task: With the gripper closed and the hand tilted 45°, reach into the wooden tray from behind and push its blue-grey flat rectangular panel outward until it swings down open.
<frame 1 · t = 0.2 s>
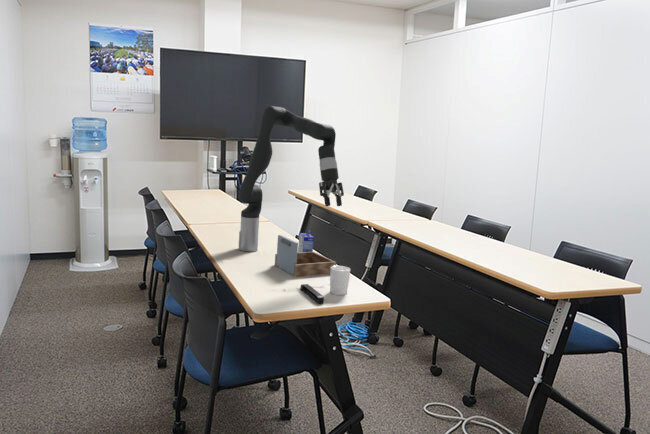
hand: (333, 206, 226), 31 cm above the table, tool tilted 20°, fingers open, 8 cm apart
wooden tray: (304, 272, 234), on the table
blue-grey flat rectangular panel: (285, 254, 227), point 9 cm above the table, hinge at 0.0°
ink cartridge box: (304, 259, 258), on the table
white cup: (338, 293, 207), on the table
portable electronic device stand: (311, 297, 200), on the table
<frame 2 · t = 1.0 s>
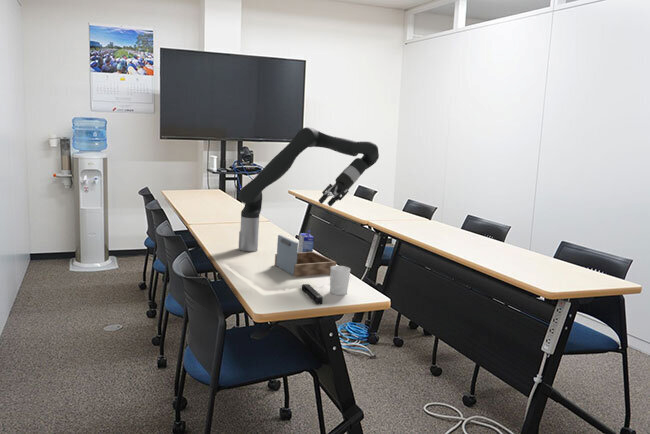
hand: (324, 203, 233), 31 cm above the table, tool tilted 45°, fingers open, 7 cm apart
nothing on the table moved.
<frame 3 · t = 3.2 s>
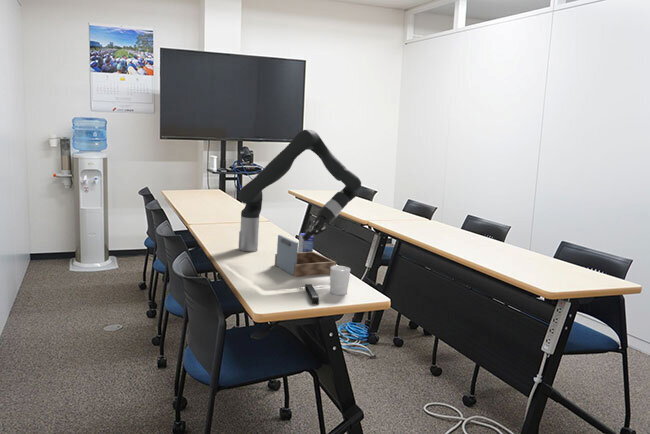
hand: (304, 239, 231), 15 cm above the table, tool tilted 45°, fingers closed
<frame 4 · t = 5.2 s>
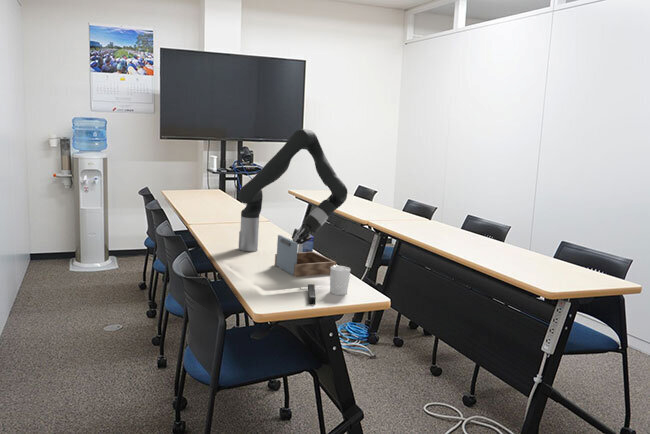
hand: (289, 248, 228), 11 cm above the table, tool tilted 45°, fingers closed
blue-grey flat rectangular panel: (285, 254, 227), point 9 cm above the table, hinge at 0.3°, touching gripper
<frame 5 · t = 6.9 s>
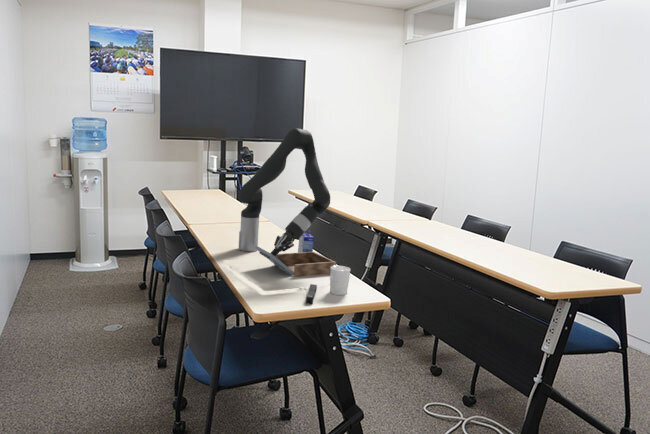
hand: (271, 256, 224), 8 cm above the table, tool tilted 45°, fingers closed
blue-grey flat rectangular panel: (273, 261, 225), point 6 cm above the table, hinge at 51.4°, touching gripper
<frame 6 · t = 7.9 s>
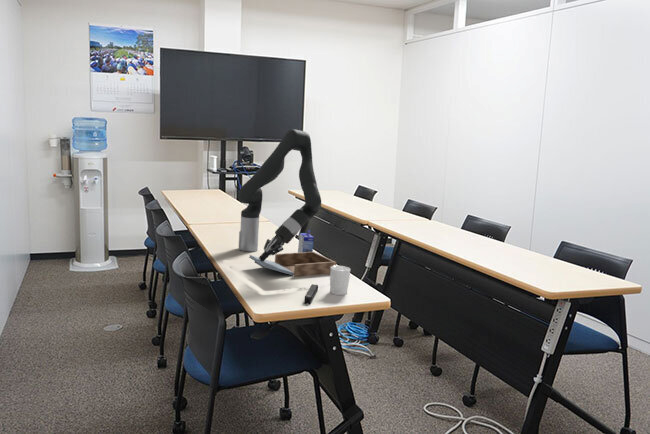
hand: (260, 259, 221), 7 cm above the table, tool tilted 45°, fingers closed
blue-grey flat rectangular panel: (271, 266, 224), point 4 cm above the table, hinge at 71.0°
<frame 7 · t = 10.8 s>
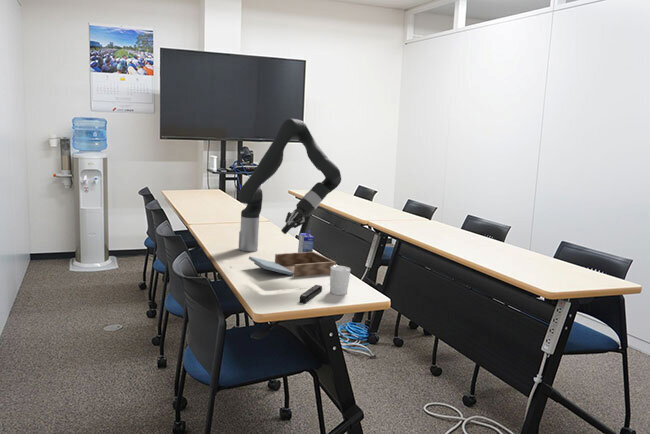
hand: (283, 232, 226), 18 cm above the table, tool tilted 45°, fingers closed
blue-grey flat rectangular panel: (270, 266, 224), point 4 cm above the table, hinge at 73.5°
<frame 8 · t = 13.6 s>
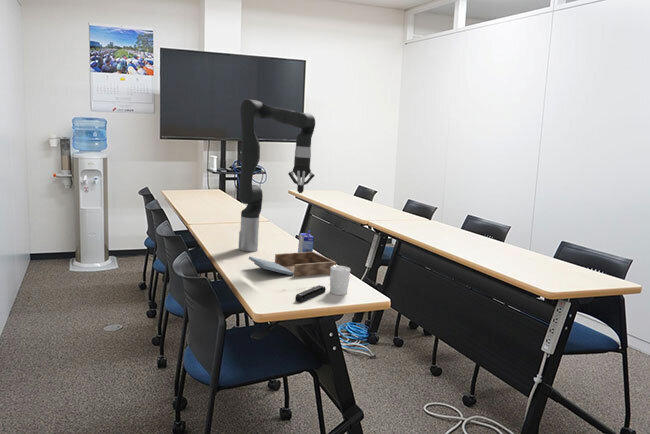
hand: (300, 192, 248), 33 cm above the table, tool pointing down, fingers closed
at the end: blue-grey flat rectangular panel at +74° (first picture: +0°); ink cartridge box moved 0.3 cm from its start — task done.
